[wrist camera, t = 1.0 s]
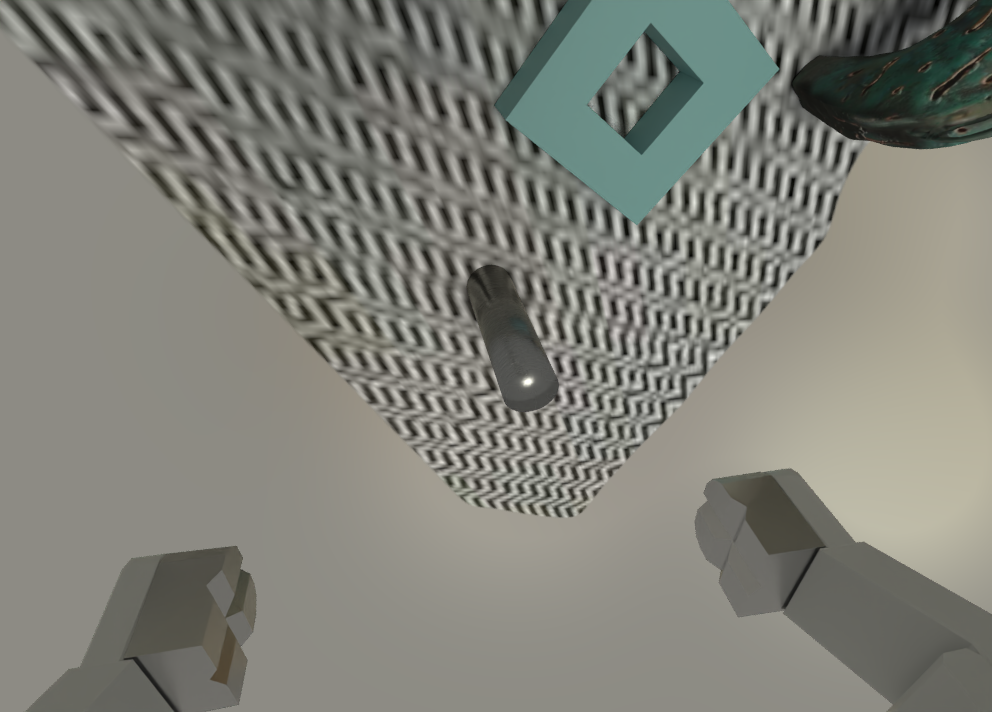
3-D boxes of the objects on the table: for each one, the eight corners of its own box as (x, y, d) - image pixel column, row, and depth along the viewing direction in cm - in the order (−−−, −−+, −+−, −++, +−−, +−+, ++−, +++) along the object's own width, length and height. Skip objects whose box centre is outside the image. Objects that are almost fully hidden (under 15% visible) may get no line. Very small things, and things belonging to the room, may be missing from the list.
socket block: (494, 105, 39) (505, 119, 36) (633, -93, 34) (658, -93, 31) (619, 206, 46) (636, 225, 44) (750, 58, 41) (779, 69, 38)
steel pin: (457, 291, 48) (491, 400, 38) (485, 257, 47) (528, 360, 36) (492, 310, 50) (533, 418, 40) (519, 278, 49) (570, 381, 38)
